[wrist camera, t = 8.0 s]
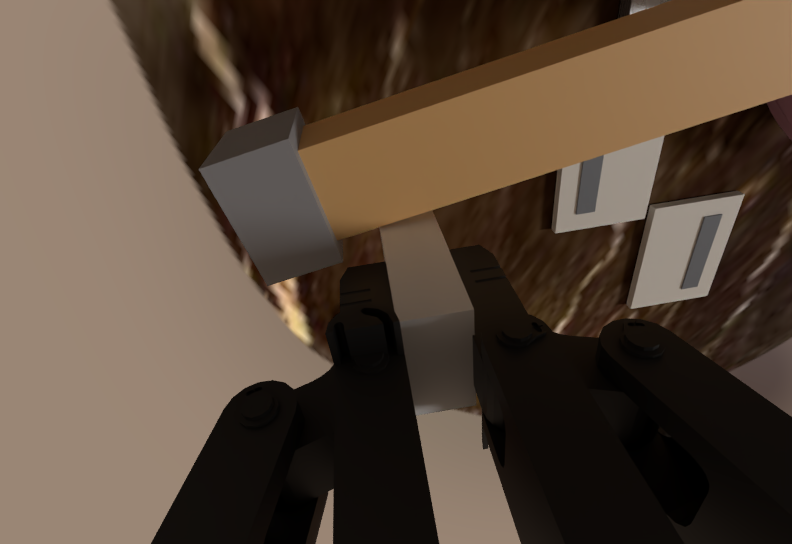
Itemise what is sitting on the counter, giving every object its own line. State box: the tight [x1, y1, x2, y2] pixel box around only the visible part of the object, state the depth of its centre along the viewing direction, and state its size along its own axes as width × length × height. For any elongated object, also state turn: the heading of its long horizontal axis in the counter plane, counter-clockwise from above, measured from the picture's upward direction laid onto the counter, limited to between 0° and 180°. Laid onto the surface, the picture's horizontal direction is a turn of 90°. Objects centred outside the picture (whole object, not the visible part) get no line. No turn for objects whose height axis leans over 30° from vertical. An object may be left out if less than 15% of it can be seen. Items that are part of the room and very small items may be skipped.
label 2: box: [626, 191, 745, 309], centre depth 25 cm, size 7×5×1 cm
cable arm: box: [199, 0, 792, 286], centre depth 10 cm, size 20×4×3 cm, turn 106°
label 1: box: [552, 136, 664, 233], centre depth 21 cm, size 7×5×1 cm
